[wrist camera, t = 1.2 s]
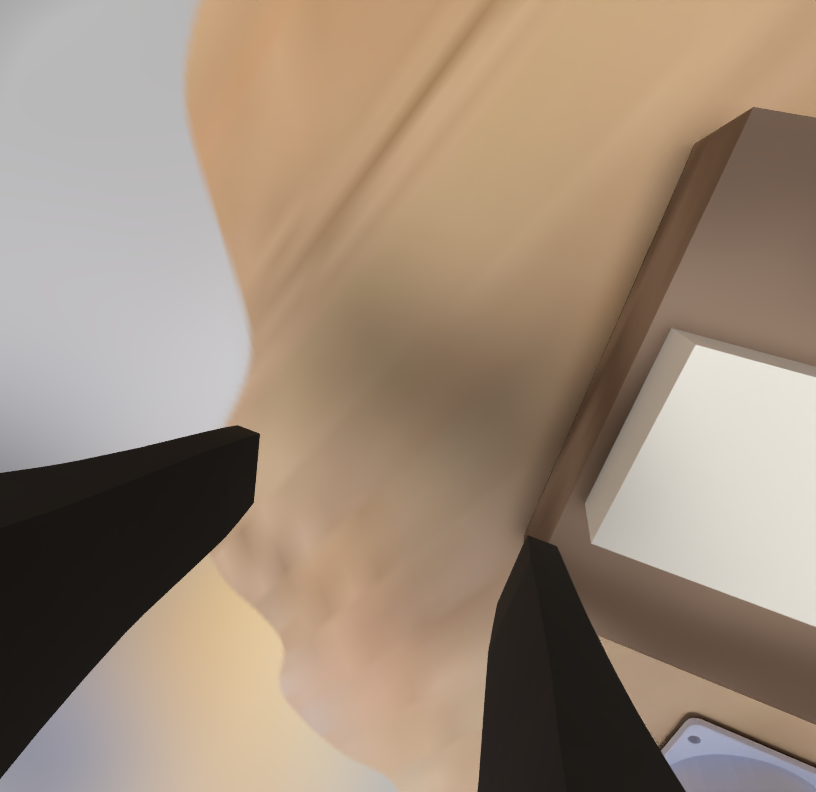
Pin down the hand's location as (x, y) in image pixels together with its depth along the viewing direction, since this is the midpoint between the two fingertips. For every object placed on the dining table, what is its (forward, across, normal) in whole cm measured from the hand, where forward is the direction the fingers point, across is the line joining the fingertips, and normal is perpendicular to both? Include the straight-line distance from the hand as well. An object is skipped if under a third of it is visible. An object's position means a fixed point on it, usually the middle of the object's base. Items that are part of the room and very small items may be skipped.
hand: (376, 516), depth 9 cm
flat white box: (+5, -10, -2) cm, 12 cm away
